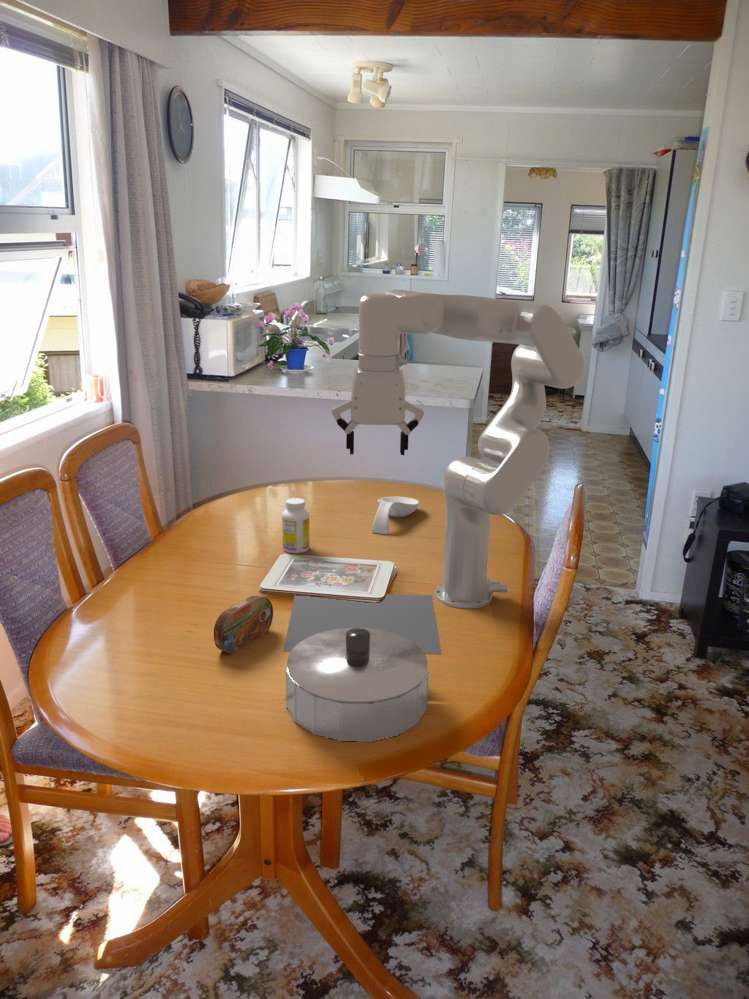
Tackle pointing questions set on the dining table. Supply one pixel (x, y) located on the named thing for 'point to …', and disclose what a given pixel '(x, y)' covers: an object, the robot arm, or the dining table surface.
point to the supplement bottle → (295, 526)
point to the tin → (243, 623)
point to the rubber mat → (366, 618)
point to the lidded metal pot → (356, 684)
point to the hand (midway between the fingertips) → (377, 453)
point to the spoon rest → (392, 511)
